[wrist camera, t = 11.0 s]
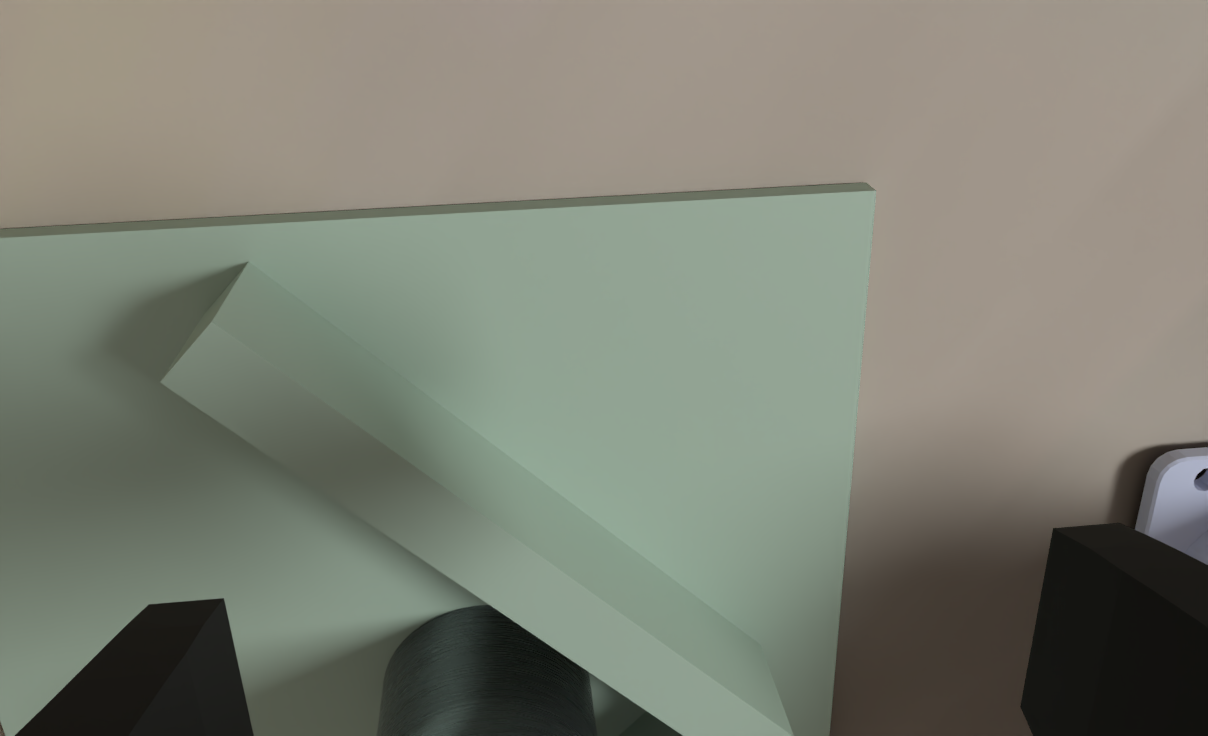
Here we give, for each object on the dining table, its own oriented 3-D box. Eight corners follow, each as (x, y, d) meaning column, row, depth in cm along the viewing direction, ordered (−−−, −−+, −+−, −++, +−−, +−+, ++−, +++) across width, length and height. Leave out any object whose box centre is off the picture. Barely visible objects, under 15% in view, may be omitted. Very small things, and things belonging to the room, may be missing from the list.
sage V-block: (866, 182, 18) (936, 236, 15) (803, 950, 26) (841, 1077, 23) (-148, 236, 16) (-274, 308, 13) (122, 1030, 24) (77, 1175, 21)
